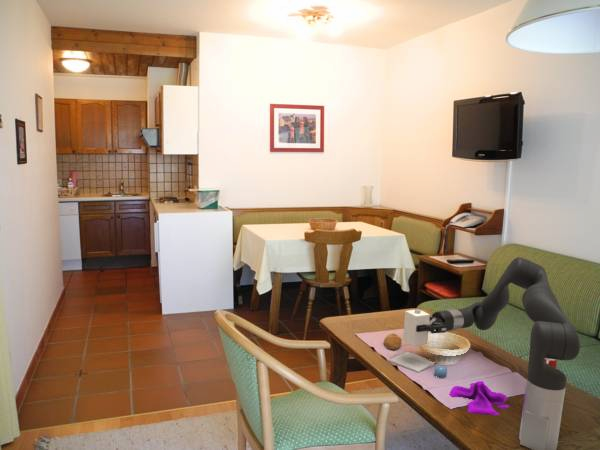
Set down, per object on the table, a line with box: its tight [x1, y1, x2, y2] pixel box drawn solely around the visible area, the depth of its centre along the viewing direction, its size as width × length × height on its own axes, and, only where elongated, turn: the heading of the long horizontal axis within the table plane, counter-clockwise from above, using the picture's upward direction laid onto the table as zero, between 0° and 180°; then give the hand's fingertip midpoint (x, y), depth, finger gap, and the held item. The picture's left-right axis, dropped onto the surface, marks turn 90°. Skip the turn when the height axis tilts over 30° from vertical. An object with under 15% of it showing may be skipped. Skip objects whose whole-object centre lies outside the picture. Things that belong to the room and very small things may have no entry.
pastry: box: [383, 333, 403, 351], centre depth 199 cm, size 9×7×4 cm
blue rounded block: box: [433, 364, 448, 379], centre depth 175 cm, size 4×4×3 cm
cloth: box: [448, 380, 510, 416], centre depth 161 cm, size 22×19×6 cm
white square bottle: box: [402, 308, 431, 347], centre depth 183 cm, size 6×6×12 cm
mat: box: [388, 351, 433, 373], centre depth 185 cm, size 12×12×1 cm
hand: (411, 325), depth 182 cm, fingers closed on white square bottle, 6 cm apart
